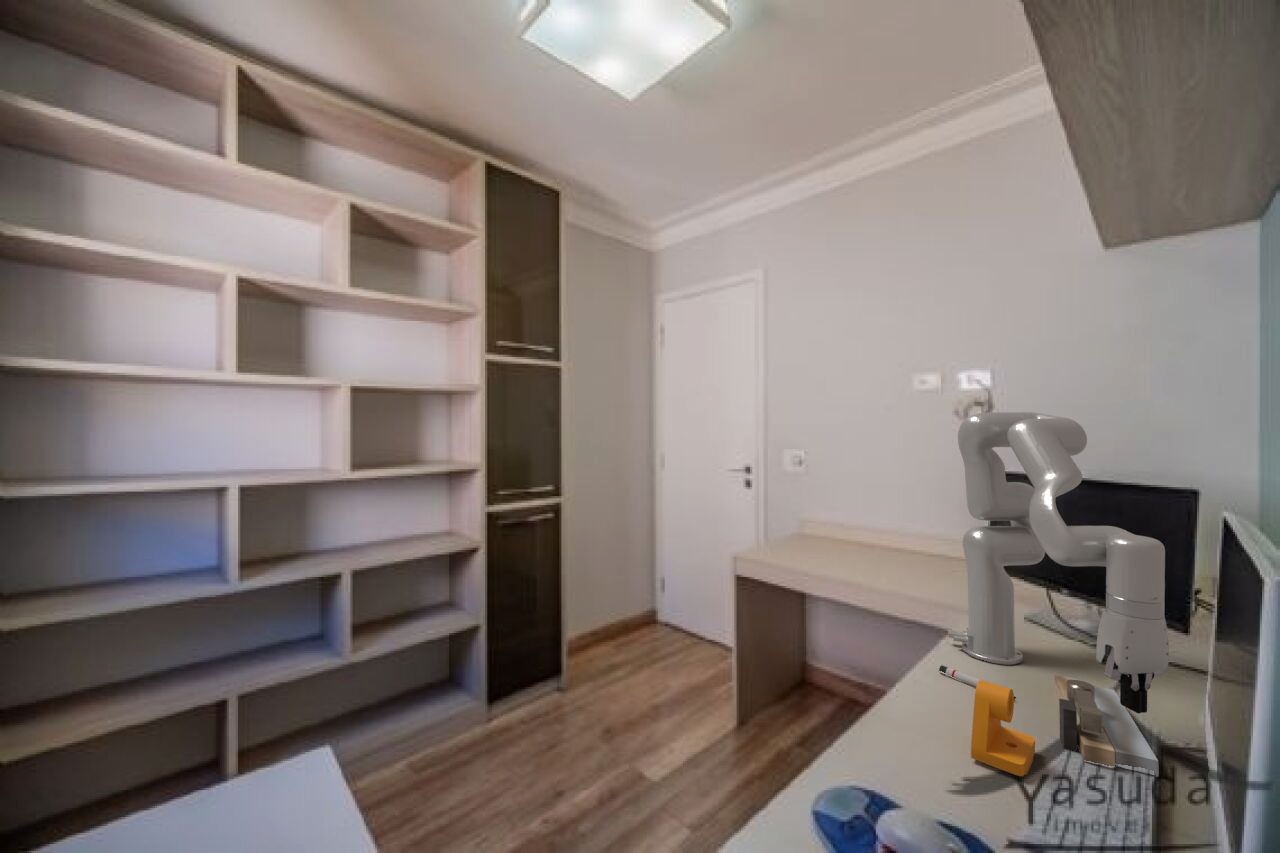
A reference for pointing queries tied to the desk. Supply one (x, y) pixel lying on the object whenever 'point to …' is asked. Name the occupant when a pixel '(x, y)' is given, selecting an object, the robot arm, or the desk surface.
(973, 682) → the marker
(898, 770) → the desk surface
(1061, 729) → the doorframe
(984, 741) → the bracket
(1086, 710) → the door handle
